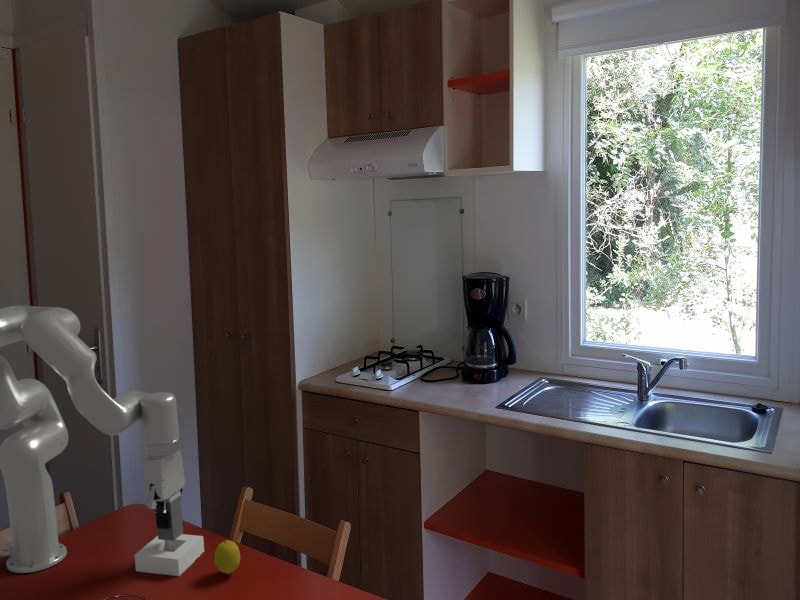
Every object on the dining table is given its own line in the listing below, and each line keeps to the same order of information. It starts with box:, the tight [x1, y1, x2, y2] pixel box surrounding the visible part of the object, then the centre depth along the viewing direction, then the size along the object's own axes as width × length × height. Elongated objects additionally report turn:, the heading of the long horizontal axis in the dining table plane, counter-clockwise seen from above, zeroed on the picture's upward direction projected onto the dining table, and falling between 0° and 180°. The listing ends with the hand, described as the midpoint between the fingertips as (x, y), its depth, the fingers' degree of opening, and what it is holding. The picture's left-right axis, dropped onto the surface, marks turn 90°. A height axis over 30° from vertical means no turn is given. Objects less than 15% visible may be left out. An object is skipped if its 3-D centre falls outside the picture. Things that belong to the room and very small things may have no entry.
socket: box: [134, 533, 205, 577], centre depth 159 cm, size 11×11×4 cm
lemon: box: [214, 539, 241, 575], centre depth 153 cm, size 6×6×8 cm
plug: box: [156, 492, 184, 541], centre depth 158 cm, size 4×4×11 cm
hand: (169, 522), depth 158 cm, fingers closed on plug, 4 cm apart
